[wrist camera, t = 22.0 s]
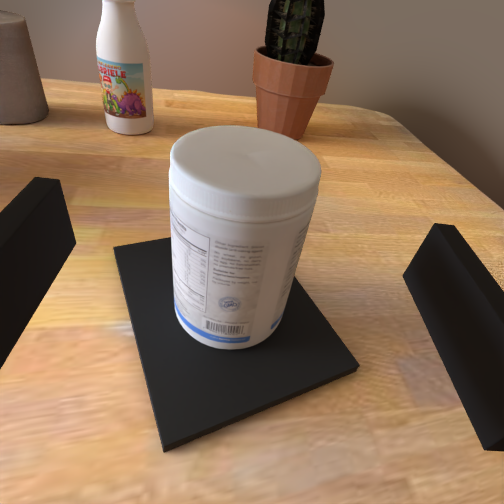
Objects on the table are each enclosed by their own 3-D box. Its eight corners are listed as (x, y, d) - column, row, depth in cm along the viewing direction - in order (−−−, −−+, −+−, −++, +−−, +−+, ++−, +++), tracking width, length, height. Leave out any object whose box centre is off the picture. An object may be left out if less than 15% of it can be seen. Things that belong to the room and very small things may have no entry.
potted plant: (329, 142, 65) (377, -25, 49) (271, 150, 59) (305, -38, 43) (287, 115, 73) (316, -35, 57) (232, 121, 67) (248, -47, 51)
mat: (114, 254, 35) (113, 246, 34) (254, 229, 41) (255, 222, 41) (163, 453, 22) (163, 447, 21) (356, 371, 28) (360, 365, 28)
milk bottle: (122, 115, 62) (105, -26, 49) (161, 124, 61) (156, -16, 48) (97, 129, 56) (71, -26, 43) (140, 140, 55) (127, -15, 42)
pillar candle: (17, 99, 61) (-15, -5, 51) (62, 113, 59) (38, 8, 49) (-36, 115, 54) (-84, -3, 44) (14, 131, 52) (-25, 12, 42)
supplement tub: (240, 258, 35) (261, 116, 26) (303, 321, 30) (359, 172, 21) (153, 295, 30) (139, 133, 21) (211, 378, 25) (229, 214, 16)
